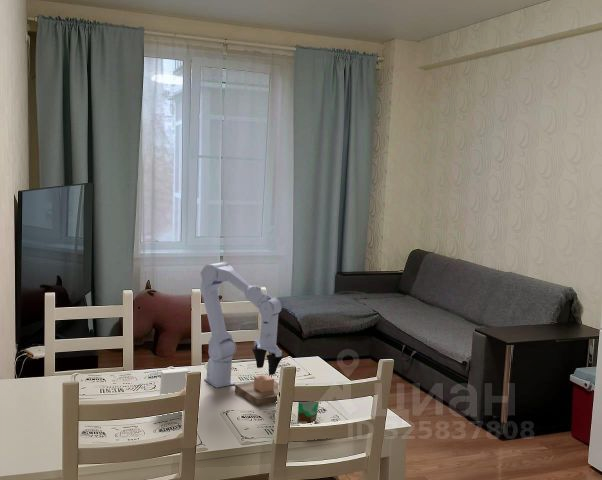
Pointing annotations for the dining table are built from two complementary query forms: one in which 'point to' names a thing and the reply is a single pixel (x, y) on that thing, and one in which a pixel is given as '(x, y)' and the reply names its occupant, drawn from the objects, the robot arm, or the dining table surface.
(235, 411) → the dining table surface
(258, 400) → the walnut base
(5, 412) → the dining table surface
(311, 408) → the food container
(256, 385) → the terracotta block
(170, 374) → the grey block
